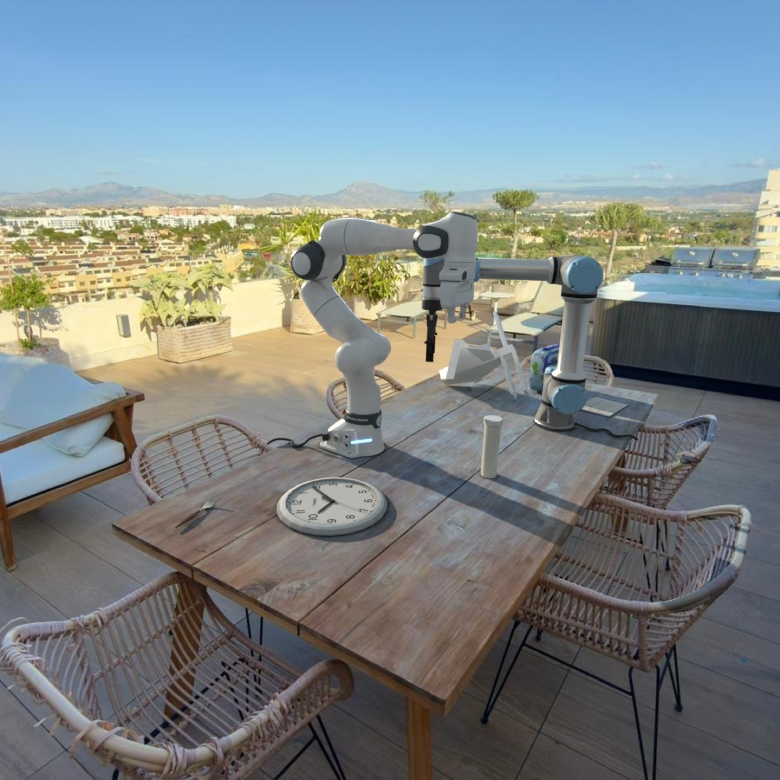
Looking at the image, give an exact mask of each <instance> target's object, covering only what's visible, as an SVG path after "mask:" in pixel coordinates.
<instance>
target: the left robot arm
mask: <svg viewBox="0 0 780 780" xmlns="http://www.w3.org/2000/svg"><path fill="white" fill-rule="evenodd" d="M477 249H478V222H477V218H476V217H475V216H474V215H473V214H470V213H466V212H461V211H451V212H449V213H448V214H446V216H444V217H442V218H441V219H438V220H436V221H434V222H431V223H428V224H425V225H422V226H420V227H418V228H401V227H396V226H392V225H388V224H384V223H381V222H377V221H374V220H370V219H366V218H365V219H364V218H357V217H356V218H355V217H344V218H335V219H331V220H327V221H325V222H324V223H323V224H322V226H321V227H320V229H319V238H318V240H316V241H315V240H309V241H308V242H306V243H305V244H303V245H301V246H300V247H298V248H296V249H295V250H294V251H293V252H292V254H291V256H290V261H289V263H290V268H291V271H292V273H293V274H294V275H295V276H296V277H297V278H299V279H301V280H302V281H303V280H304V282H303V283H302V285H301V287H300V290H299V293H300V298H301V299H302V301H303V303H304V305H305V306H306V308H307V309H308V311H309V313H310V314H311V315H312V317H313V318H314V320H315V321H316V322H317V323H318V324H319V326H320V327H321V328H322V329H323V331H324V332H325V334H326V335H327V336H329V337H330V338H332V339H335V340H336V341H338V342H340V343H341V346H339V347H338V348H337V349H336V351H335V354H334V364H335V367H336V368H337V370H338V371H339V372H340V373H342V375H343V377H344V381H345V385H346V393H347V394H346V395H347V399H346V403H347V407H345V408H343V410H342V411H340V416H342V418H340V419H339V420H337V421H336V422H335V423H333V424H332V425H331V426H330V427H328V428H321V429H320V433H319V434H314V435H312V436H309V437H308V438H306V440H305V441H302V442H301V443H299V444H294V440H293V439H292V438H286V437H276V438H273V439H271V440H269V441H268V442H266V444H265V445H267V446H269V445H270V444H272V443H273V442H276V441H285V442H286V441H287V442H290V447H292V448H300V447H303V446H304V445H307V443H309V442H310V441H311V440H313V439H316V438H319V437H321V441H320V443H319V448H320V449H323V450H326V451H329V452H331V453H335V454H337V455H341V456H343V457H346V458H349V459H356V458H359V457H371V456H375V455H376V456H377V455H379V454H381V453H382V452H383V451H384V450H385V449H386V447H385V444H384V440H383V434H382V421H383V416H382V408H381V389H382V388H381V386H380V385H379V383H378V382H377V381H376V377H375V373H374V371H375V367H377V366H379V365H381V364H383V363H384V362H385V361H386V360H387V359H388V357H390V354H391V352H392V346H391V341H390V340H389V338H388V337H387V336H386V335H384V334H382V333H379V332H378V331H376V330H374V329H373V328H372V327H370V326H369V324H368V323H365V322H364V321H363V320H362V319H361V318H360V317H359V316H358V315H356V313H354V311H353V310H352V309H351V307H349V305H348V304H347V303H346V302H345V300H344V298H342V296H341V295H340V294H339V293H338V292H337V291H336V288H335V287H334V285H333V283H335V282H337V281H338V280H339V278H340V275H341V274H342V273H343V271H344V270H345V268H346V265H347V256H354V257H357V256H358V257H362V256H371V255H377V254H382V253H386V252H390V251H391V252H392V251H399V250H405V251H406V250H408V251H414V252H415V253H416V255H417V256H418V257H420V258H422V259H424V258H425V259H437V258H445V266H444V268H443V269H442V271H441V272H440V274H439V280H443V281H442V282H441V285H440V303H441V307H442V308H443V309H445V310H446V313H447V323H448V324H455V323H457V322H456V321H457V320H456V319H457V317H456V309H457V308H458V307H459V312H458V319H466V317H467V311H468V307H469V303H471V302H473V301H474V298H475V282H474V279H475V270H476V258H477V257H476V251H477Z"/></svg>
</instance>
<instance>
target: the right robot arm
mask: <svg viewBox="0 0 780 780" xmlns="http://www.w3.org/2000/svg"><path fill="white" fill-rule="evenodd" d="M475 258H476V270H475V279H474V283H477V282H479V281H480V280H495V281H497V280H499V281H500V280H501V281H526V282H527V281H531V282H546V283H547V284H548V285H557V286H561V289H560V298H561V299H562V300H563V303H564V305H563V313H562V322H561V330H560V339H559V345H560V346H559V355H558V364H557V366H553V367H547V368H546V369H545V373H544V382H543V392H541V393H542V394H541V402H540V405H539V407H538V410H537V411H536V413H535V416H534V424H535V425H536V426H537V427H539V428H542V429H544V430H549V431H556V432H567V431H572V430H574V429H575V428H576V426H578V427H580V428H583V429H584V430H588V431H590V432H606V433H608V435H610V436H611V437H614V438H617V439H618V438H620V439H621V438H632V439H633V440H635V441H637V442H639V438H638V437H637V436H635V435H633V434H629V433H625V434H615V433H612V430H610V429H608V428H603V427H600V428H599V427H598V428H592V427H589V426H586V425H584V424H582V423H579V422H576V418H575V417H576V416H575V414H576V413H579V412H580V411H582V410H581V409H582V408H583V407H584V406H585V404H586V401H588V397H587V392H586V389H585V388H586V383H587V382H586V381H587V375H586V374H585V373H584V371H583V369H584V361H585V355H586V347H587V339H588V338H587V337H588V330H589V324H590V318H591V317H590V316H591V308H592V303H593V302H594V301H596V300H597V298H598V294H599V293H598V291H599V288H601V285H602V284H603V281H604V269H603V267H602V265H601V264H600V262H599V261H597V260H596V259H595V258H594V257H592V256H587V255H581V254H574V255H573V254H572V255H565V256H551V257H549V258H548V259H545V258H544V259H543V258H542V259H541V258H540V259H539V258H501V257H500V258H497V257H496V258H495V257H494V258H492V257H475ZM422 264H423V265H422V288H420V292H421V293H422V294H421V296H422V299H421V309H422V310H423V311H428V313H426V316H425V320H426V340H424V342H423V343H424V344H425V362H426V363H434V359H435V357H434V356H435V353H436V338H437V337H436V336H438V332H437V329H436V328H437V324H438V318H439V315H438V314H437V311H438V312H439V311H442V310H444V308H442V307H441V303H440V285H441V282H442V281H443V280H439V274H440V272H441V271H442V269H443V268H444V266H445V258H437V259H425V258H423V263H422Z"/></svg>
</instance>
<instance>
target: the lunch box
mask: <svg viewBox="0 0 780 780" xmlns="http://www.w3.org/2000/svg"><path fill="white" fill-rule="evenodd" d="M559 346H560V344H551V345H547V346H545V347H541V348H539V349H536V350H534V352H533V353H532V355H531V358H530V359H531V360H530V366H529V377H528V379H529V380H528V387H529V390H531V391H536V392H541V393H542V392H543V382H544V373H545V369H546V368H547V367H553V366H557V364H558V355H559Z"/></svg>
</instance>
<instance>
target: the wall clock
mask: <svg viewBox="0 0 780 780" xmlns="http://www.w3.org/2000/svg"><path fill="white" fill-rule="evenodd" d="M387 509H388V500H387V498H386V496H385V494H384V493H383V492H382V491H381V490H380V489H379V488H377V487H376V486H374V485H372V484H371V483H369V482H365V481H362V480H359V479H355V478H349V477H338V476H337V477H335V476H333V477H332V476H331V477H322V478H317V479H312V480H307V481H305V482H302V483H299V484H297V485H295V486H293V487H292V488H290V489H288V490H287V491H286V492H285V493H284V494H283V495H281V496H280V498H279V499H278V502H277V503H276V515H277V517H278V518H279V520H280V521H281V522H282V523H283V524H285V525H286V526H287V527H288V528H290V529H293V530H295V531H297V532H299V533H303V534H308V535H312V536H327V537H328V536H329V537H331V536H332V537H333V536H342V535H350V534H352V533H356V532H361V531H363V530H366V529H368V528H369V527H372V526H373V525H375V524H376V523H378V522H379V521H380V520H381V519H382V518H383V517H384V516H385V514H386V512H387Z"/></svg>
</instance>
